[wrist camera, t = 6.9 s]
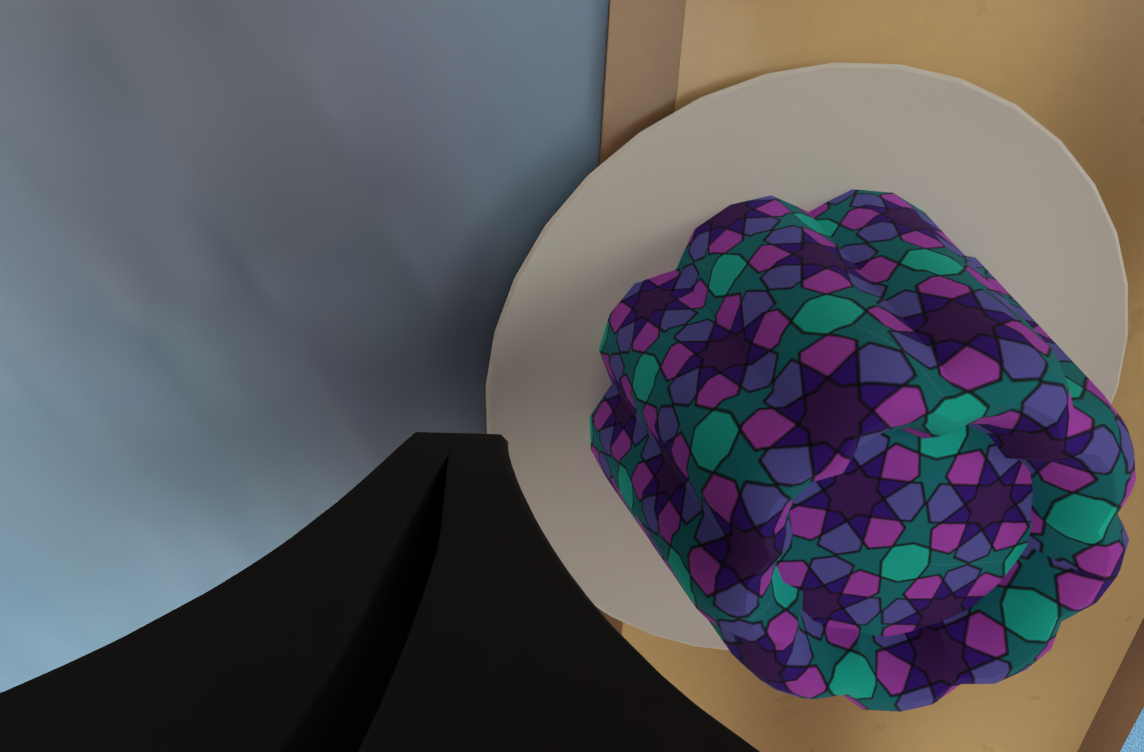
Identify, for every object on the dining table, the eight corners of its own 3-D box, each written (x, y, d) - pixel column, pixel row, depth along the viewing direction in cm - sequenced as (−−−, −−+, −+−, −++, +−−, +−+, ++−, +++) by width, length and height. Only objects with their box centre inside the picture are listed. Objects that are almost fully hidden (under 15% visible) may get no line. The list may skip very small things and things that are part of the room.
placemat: (1649, -268, 10) (1662, -271, 10) (1106, 766, 19) (1109, 770, 19) (631, -362, 9) (632, -368, 9) (561, 771, 18) (561, 775, 18)
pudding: (972, 638, 16) (1151, 870, 12) (471, 613, 15) (442, 855, 11) (1210, 107, 12) (1677, 128, 7) (511, 18, 11) (490, -29, 6)
